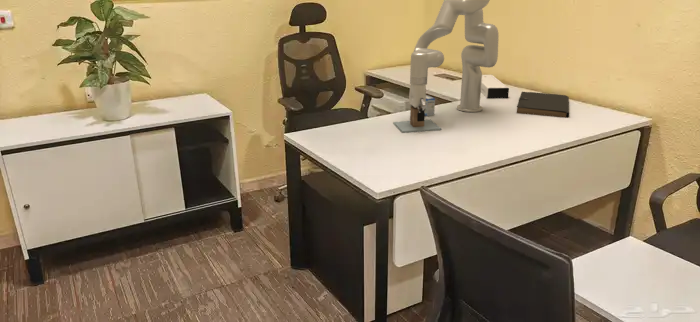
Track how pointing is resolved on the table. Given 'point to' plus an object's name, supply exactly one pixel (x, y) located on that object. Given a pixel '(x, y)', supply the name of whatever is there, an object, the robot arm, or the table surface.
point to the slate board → (407, 127)
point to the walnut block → (415, 118)
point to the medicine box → (429, 106)
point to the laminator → (493, 87)
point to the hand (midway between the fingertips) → (417, 118)
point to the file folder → (543, 104)
